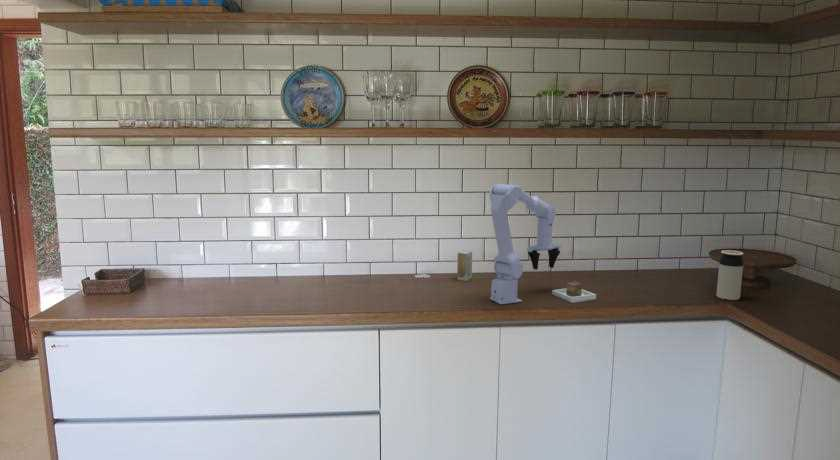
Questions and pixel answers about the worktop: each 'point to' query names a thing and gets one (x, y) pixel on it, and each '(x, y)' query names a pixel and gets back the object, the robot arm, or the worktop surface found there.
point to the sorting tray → (585, 297)
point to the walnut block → (574, 289)
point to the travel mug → (730, 275)
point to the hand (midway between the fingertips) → (543, 268)
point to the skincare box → (464, 265)
